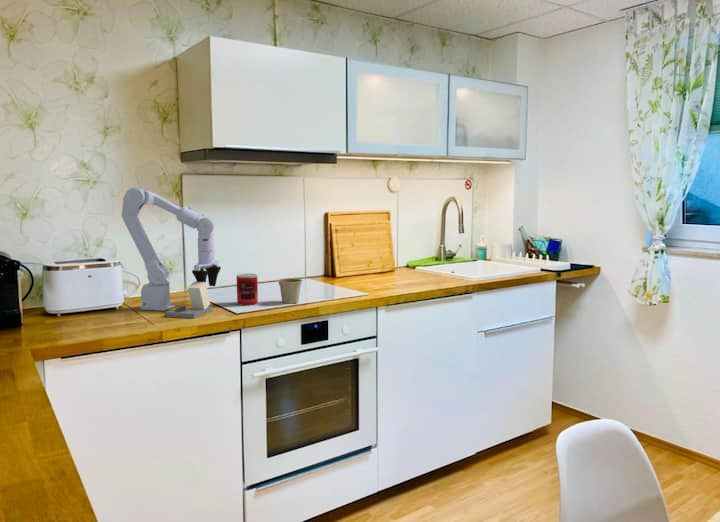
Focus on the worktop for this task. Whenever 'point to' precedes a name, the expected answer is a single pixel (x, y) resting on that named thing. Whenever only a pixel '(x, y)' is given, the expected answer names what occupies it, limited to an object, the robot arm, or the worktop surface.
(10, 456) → the worktop surface
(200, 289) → the cream block
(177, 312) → the tray
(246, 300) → the canned food
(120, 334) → the worktop surface
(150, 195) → the robot arm
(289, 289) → the flower pot
